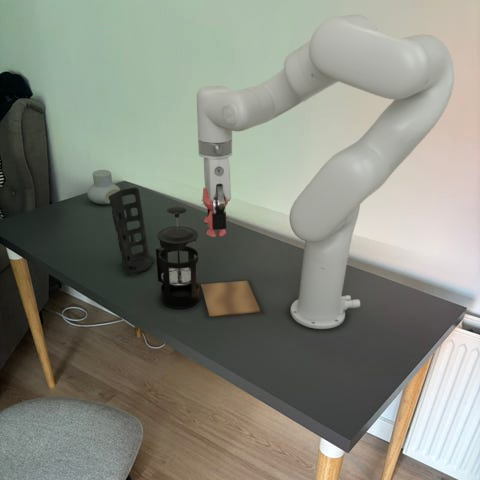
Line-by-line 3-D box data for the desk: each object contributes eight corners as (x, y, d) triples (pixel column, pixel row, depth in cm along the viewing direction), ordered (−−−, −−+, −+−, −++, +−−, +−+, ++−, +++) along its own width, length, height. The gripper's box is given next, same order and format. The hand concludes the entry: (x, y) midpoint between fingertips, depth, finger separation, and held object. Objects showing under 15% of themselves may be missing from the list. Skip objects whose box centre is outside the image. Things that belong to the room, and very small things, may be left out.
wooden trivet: (247, 282, 130) (247, 280, 130) (260, 312, 119) (260, 310, 119) (200, 285, 128) (200, 284, 128) (209, 316, 117) (209, 314, 116)
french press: (210, 298, 123) (209, 207, 110) (184, 315, 117) (180, 221, 104) (173, 282, 129) (169, 195, 116) (147, 298, 122) (139, 207, 109)
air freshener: (108, 194, 178) (105, 165, 172) (125, 200, 174) (123, 171, 168) (84, 203, 170) (79, 173, 164) (101, 209, 166) (97, 179, 161)
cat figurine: (227, 227, 128) (227, 180, 122) (233, 238, 123) (234, 190, 116) (200, 229, 127) (198, 182, 120) (205, 241, 122) (203, 192, 115)
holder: (143, 277, 130) (128, 201, 119) (115, 276, 132) (98, 201, 121) (157, 258, 139) (145, 186, 128) (131, 257, 141) (117, 186, 130)
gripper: (239, 157, 107) (238, 236, 117) (225, 137, 121) (225, 208, 131) (204, 159, 106) (206, 238, 116) (193, 138, 120) (196, 210, 130)
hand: (216, 222), depth 123 cm, fingers closed on cat figurine, 6 cm apart
